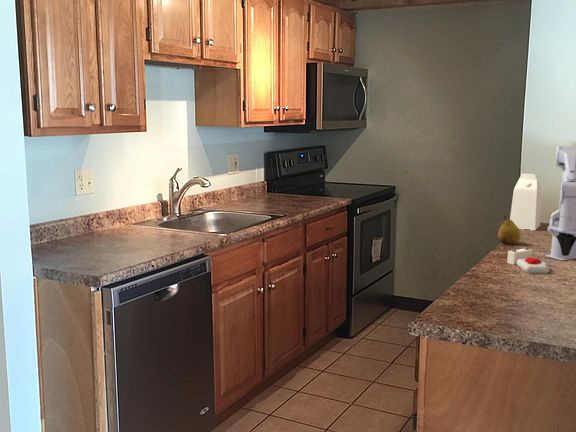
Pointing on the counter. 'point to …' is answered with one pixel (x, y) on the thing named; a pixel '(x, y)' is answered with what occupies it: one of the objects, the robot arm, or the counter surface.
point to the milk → (526, 202)
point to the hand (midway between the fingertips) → (565, 255)
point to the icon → (533, 265)
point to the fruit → (508, 232)
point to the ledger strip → (518, 255)
